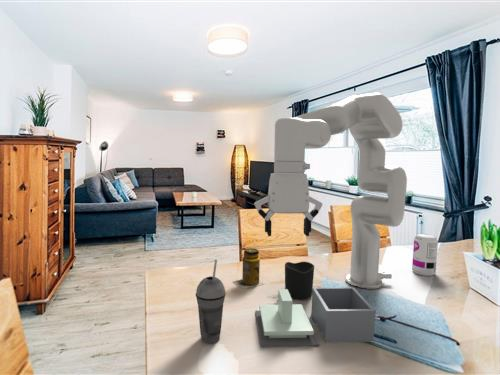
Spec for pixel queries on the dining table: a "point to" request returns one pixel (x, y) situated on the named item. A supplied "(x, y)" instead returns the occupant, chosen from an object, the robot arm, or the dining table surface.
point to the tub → (342, 314)
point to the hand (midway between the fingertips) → (287, 234)
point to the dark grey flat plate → (283, 342)
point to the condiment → (250, 269)
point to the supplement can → (425, 254)
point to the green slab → (285, 318)
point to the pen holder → (299, 280)
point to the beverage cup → (210, 307)
